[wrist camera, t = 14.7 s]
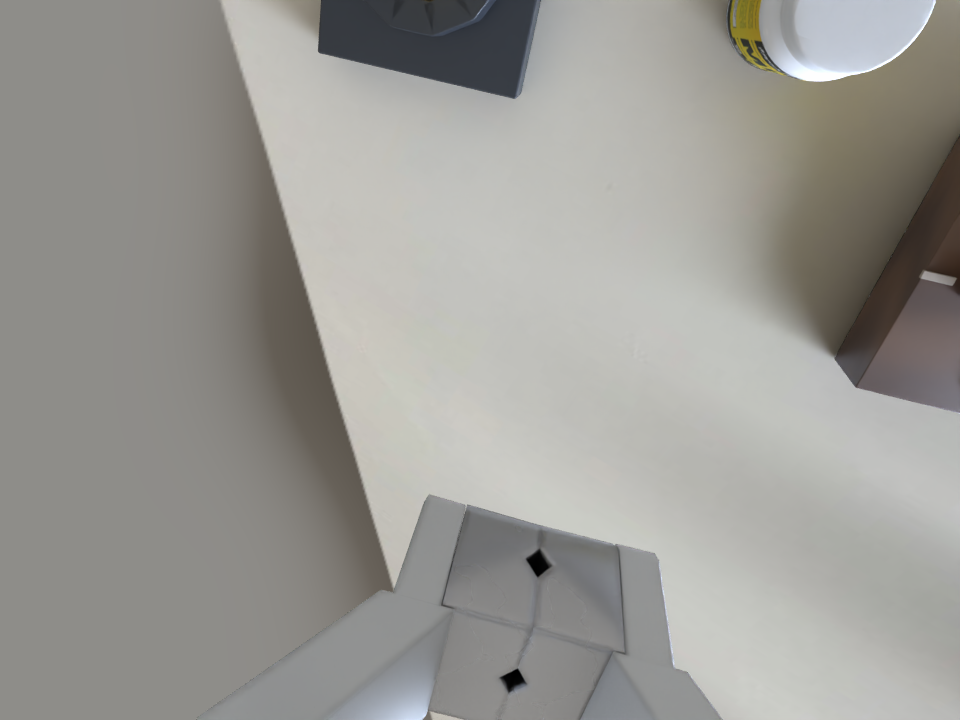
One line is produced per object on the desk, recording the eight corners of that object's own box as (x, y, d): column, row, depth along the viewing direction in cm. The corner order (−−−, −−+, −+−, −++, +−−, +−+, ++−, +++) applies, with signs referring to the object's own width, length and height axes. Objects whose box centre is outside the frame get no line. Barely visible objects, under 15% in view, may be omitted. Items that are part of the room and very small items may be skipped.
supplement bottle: (705, 54, 27) (749, 64, 20) (755, -75, 25) (826, -118, 17) (813, 84, 27) (897, 106, 19) (872, -43, 24) (994, -72, 17)
